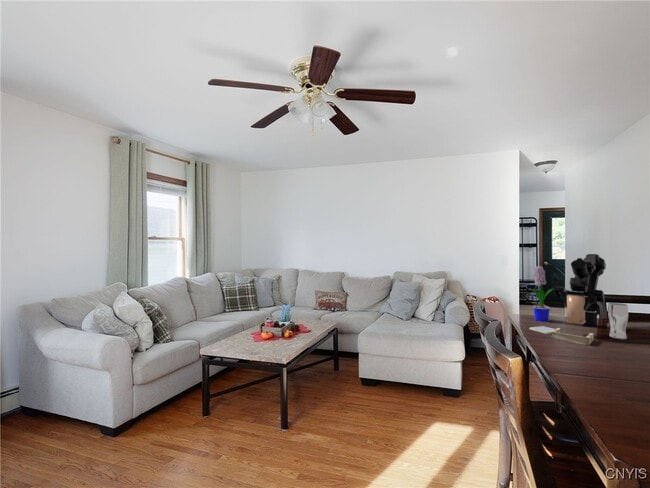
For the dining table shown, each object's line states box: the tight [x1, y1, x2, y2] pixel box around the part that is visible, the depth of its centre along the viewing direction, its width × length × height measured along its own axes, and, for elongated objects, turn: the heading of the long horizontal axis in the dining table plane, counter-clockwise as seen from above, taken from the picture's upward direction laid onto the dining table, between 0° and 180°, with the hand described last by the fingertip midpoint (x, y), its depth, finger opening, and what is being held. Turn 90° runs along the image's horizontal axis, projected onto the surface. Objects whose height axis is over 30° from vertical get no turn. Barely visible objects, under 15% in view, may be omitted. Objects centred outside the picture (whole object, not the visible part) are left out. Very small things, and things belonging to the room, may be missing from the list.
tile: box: [529, 325, 556, 335], centre depth 167 cm, size 9×9×1 cm
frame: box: [550, 327, 595, 346], centre depth 152 cm, size 10×13×3 cm
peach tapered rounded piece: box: [565, 295, 585, 325], centre depth 159 cm, size 7×7×12 cm
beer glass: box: [607, 302, 629, 340], centre depth 154 cm, size 7×7×15 cm
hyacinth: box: [530, 265, 554, 323], centre depth 187 cm, size 9×10×30 cm
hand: (575, 308), depth 158 cm, fingers closed on peach tapered rounded piece, 7 cm apart
